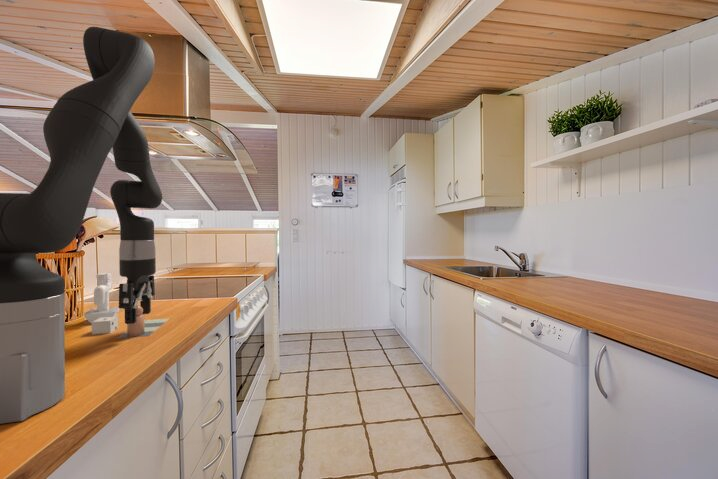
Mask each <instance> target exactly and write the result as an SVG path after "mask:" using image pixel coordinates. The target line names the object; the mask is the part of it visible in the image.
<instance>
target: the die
mask: <svg viewBox="0 0 718 479" xmlns="http://www.w3.org/2000/svg"><path fill="white" fill-rule="evenodd" d="M117 329H119V316H116V317H103V318H99V319H97V320H95V321H93V322H92V323H91V335H102V334H112V333H113V332H114V331H116V330H117Z"/></svg>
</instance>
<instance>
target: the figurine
mask: <svg viewBox="0 0 718 479" xmlns="http://www.w3.org/2000/svg"><path fill="white" fill-rule="evenodd" d="M95 277H96V282H97V283H96V284H97V286H96V287H95V288H94V290H93V305H95V306H96V308H90V309H89V310H87V311H86V312H84V313H83V317H84V318H85V319H86V321H88V323H89V324H91V325H92V322H93V321H95V320H97V319H99V318H103V317H117V315H118V313H119V311H120V310H121V308H119V305H118V306H110V291H111V288H112V284H113V283H112V281H113V276H112V274H111V273H110V272H102V273H97V274H96V275H95Z"/></svg>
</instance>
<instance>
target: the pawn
mask: <svg viewBox="0 0 718 479" xmlns="http://www.w3.org/2000/svg"><path fill="white" fill-rule="evenodd" d="M142 313H143V308H142V307H141V306H140V304H139V305H138V304H137V306H136V316H137V321H136V322H135V323H133V324H126V331H127V336H128V337H131V338H137V337H136V336H140V335H143V334H144V333H145V320H146V319H145V315H146V314H142Z"/></svg>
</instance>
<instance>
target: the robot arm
mask: <svg viewBox="0 0 718 479" xmlns="http://www.w3.org/2000/svg"><path fill="white" fill-rule="evenodd" d="M82 44H83V50H84V51H83V52H84V56H85V61H86V63H87V66H88V69H89V73H90V76H91V78H92V80H90V81H87V82H84V83H82V84H79V85H78V86H75V87H74V88H72V89H70V90H68V91H66V92H65V93H63V94H62V95H61V96H60V97H59V98H58V99H57V101H56V103H55V104H54V105H53V106H52V108H51V110H50V111H49V113H48V114H47V116H46V118H45V120H44V122H43V125H42V126H43V128H42V129H43V130H42V131H43V132H42V133H43V136H44V141H45V144H46V147H47V149H48V153H49V159H50V161H49V166H48V169H47V170H46V172H45V174H44V176H43V177H42V180H41V181H40V182H39V184H38V185H37V186H36V188H35V189H34V190H33V191H31V192H29V193H23V192H21V193H20V192H19V193H17V192H15V193H14V192H0V425H1V424H8V423H15V422H22V421H24V420H26V419H28V418H29V417H31V416H33V415H35V414H38V413H41V412H43V411H45V410H47V409H49V408H51V407H53V406H54V405H56V404H58V403H59V402H60V401H61V400H63V398H64V397H65V394H66V392H65V391H66V378H65V377H66V370H65V368H66V366H65V365H66V364H65V363H66V359H65V358H66V356H65V352H66V350H65V349H66V346H65V340H66V339H65V338H66V336H65V335H66V334H65V330H66V329H65V327H66V326H65V324H66V323H65V322H66V321H65V320H66V319H65V316H66V314H65V313H66V312H65V310H66V304H65V303H66V302H65V301H66V297H65V296H66V295H65V294H66V293H65V292H66V290H65V289H66V287H65V286H66V284H65V282H66V281H65V278H64V276H62V275H61V274H58V273H56V272H53V271H52V270H51V271H50V270H48V269H47V268H46V267H44V266H42V265H41V264H40V262H39V261H38V258H37V254H48V253H49V254H51V253H55V252H60V251H62V250H64V249H65V248H67V247H68V246H69V245H71V244H72V242H73V241H74V240H75V238H76V237H77V235H78V234H79V232H80V229H81V227H82V225H83V222H84V219H85V215H86V212H87V209H88V205H89V202H90V200H91V196H92V193H93V190H94V187H95V184H96V183H97V182H96V181H97V180H98V178H99V175H100V173H101V170H102V169H103V166H104V165H105V164H104V163H105V162H106V159H107V157H108V155H109V154H110V152H111V150H112V153H113V158H114V164H115V167H116V169H117V170H119V171H120V172H123V173H125V174H126V173H128V174H130V175H132V176H133V175H134V176H136V177H137V178H139V180H126V179H118V180H116V181H114V182H113V183H112V184H111V186H110V191H109V192H110V193H109V194H110V197H111V201H112V203H113V206H114V208H115V211H116V214H117V217H118V221H119V229H120V230H119V231H120V233H119V234H120V241H119V248H118V253H119V254H118V257H119V258H118V260H119V268H118V269H119V276H121V277H122V278H126V283H119V287H118V306H119V308H120V309H123V310H124V324H126V325H127V324H133V323H135V322H136V321H137V316H136V306H137V305H138V302H139V301H140V304H139V306H141V307H142V308H143V313H142V314H145V315H148V314H150V313H151V311H152V309H151V308H152V307H151V306H152V305H151V302H152V301H151V300H152V299H153V297H154V296H155V295H156V293H155V274H156V272H157V270H156V267H157V266H156V245H155V224H154V220H153V219H151V218H148V217H145V216H144V217H143V216H139V215H135V213H134V212H133V210H132V209H151V210H152V209H156V208H158V207H159V206H160V205H161V204H162V201H163V193H162V190H161V187H160V185H159V183H158V182H157V179H156V177H155V174H154V172H153V168H152V165H151V157H150V149H149V148H150V147H149V141H148V139H147V135H146V134H145V131H144V129H143V128H142V126H141V125H140V123H139V122H138V120H137V119H136V117H135V116H134V114H133V113H132V112H131V110H132V107H133V106H134V104H135V103H136V101H137V99H138V98H139V97H140V95H141V94H142V93H143V92H144V90H145V88H146V87H147V85H148V84H149V82H150V81H151V80H152V77H153V75H154V71H155V64H156V62H155V60H156V59H155V54H154V52H153V48H151V45H150V44H149V43H148V42H147V41H146V40H145V39H144V38H142V37H140V36H137V35H135V34H133V33H128V32H124V31H119V30H114V29H109V28H104V27H99V26H90V27H89V26H88V27H87V28H86V29H85V31H84V33H83V38H82Z"/></svg>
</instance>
